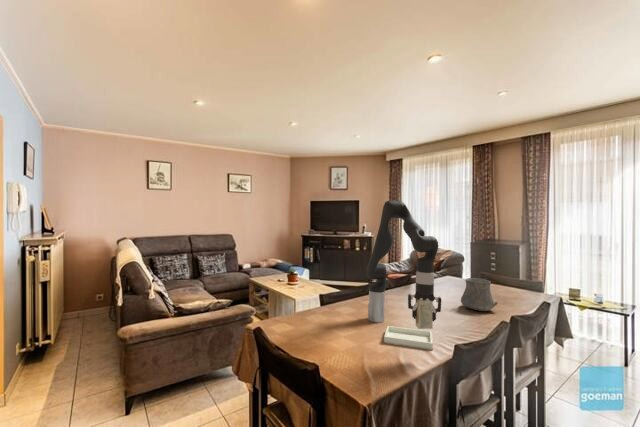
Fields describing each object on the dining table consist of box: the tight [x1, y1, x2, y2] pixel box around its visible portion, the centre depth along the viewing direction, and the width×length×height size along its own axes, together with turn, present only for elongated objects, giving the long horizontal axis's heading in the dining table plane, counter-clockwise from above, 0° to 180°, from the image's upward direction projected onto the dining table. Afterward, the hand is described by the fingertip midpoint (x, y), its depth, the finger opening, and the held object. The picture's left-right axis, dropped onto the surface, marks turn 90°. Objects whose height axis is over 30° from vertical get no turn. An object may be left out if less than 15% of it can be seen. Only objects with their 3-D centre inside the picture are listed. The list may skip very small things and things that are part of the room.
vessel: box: [460, 277, 499, 312], centre depth 206 cm, size 22×22×20 cm
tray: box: [383, 325, 434, 351], centre depth 151 cm, size 22×16×3 cm
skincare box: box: [415, 300, 434, 330], centre depth 133 cm, size 6×4×12 cm
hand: (423, 319), depth 133 cm, fingers closed on skincare box, 7 cm apart
